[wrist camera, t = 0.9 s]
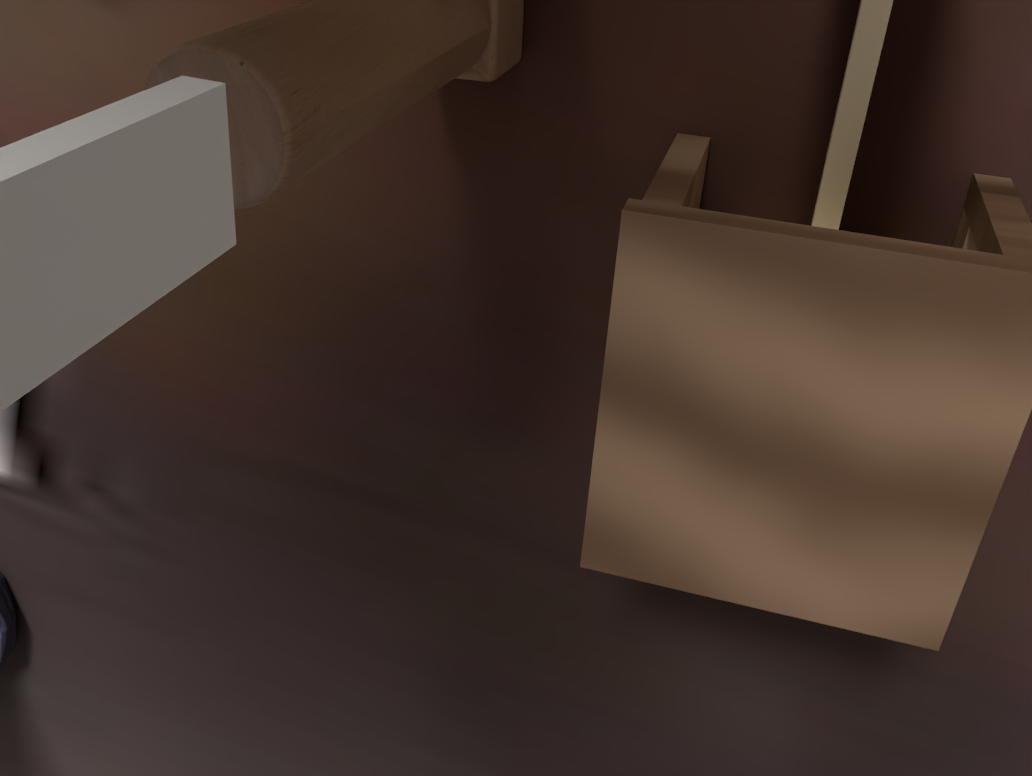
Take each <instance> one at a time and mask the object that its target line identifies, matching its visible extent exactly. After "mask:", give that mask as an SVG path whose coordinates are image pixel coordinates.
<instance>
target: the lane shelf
mask: <svg viewBox="0 0 1032 776" xmlns="http://www.w3.org/2000/svg"><path fill="white" fill-rule="evenodd" d="M710 139H711V138H710V137H703V136H696V135H688V134H681V133H678V134H677V135H676V137H675V139H674V141H673V143H672V145H671V147H670V148H669V150H668V152H667V154H666V156H665V158H664V160H663V162H662V163H661V165H660V167H659V169H658V171H657V173H656V175H655V176H654V178H653V180H652V182H651V184H650V186H649V188H648V190H647V191H646V193H645V195H644V197H643V199H642V200H638V199H631V198H628V200H627V202H626V204H625V205H624V207H623V209H622V214H621V223H620V231H619V240H618V248H617V257H616V265H615V274H614V282H613V291H612V299H611V308H610V316H609V325H608V333H607V342H606V350H605V359H604V367H603V376H602V384H601V393H600V401H599V410H598V418H597V427H596V435H595V444H594V452H593V461H592V469H591V478H590V486H589V495H588V503H587V512H586V520H585V529H584V537H583V546H582V554H581V563H580V567H583V568H587V569H591V570H595V571H600V572H604V573H608V574H612V575H617V576H621V577H625V578H630V579H634V580H638V581H642V582H647V583H651V584H655V585H659V586H664V587H668V588H672V589H676V590H681V591H685V592H689V593H693V594H698V595H702V596H706V597H710V598H715V599H719V600H723V601H727V602H732V603H736V604H740V605H745V606H749V607H753V608H757V609H762V610H766V611H770V612H774V613H779V614H783V615H787V616H791V617H796V618H800V619H804V620H808V621H813V622H817V623H821V624H825V625H830V626H834V627H838V628H843V629H847V630H851V631H855V632H860V633H864V634H868V635H872V636H877V637H881V638H885V639H889V640H894V641H898V642H902V643H906V644H911V645H915V646H919V647H923V648H928V649H932V650H936V651H939V648H940V646H941V643H942V641H943V638H944V635H945V633H946V630H947V628H948V625H949V622H950V620H951V617H952V615H953V612H954V609H955V607H956V604H957V602H958V599H959V596H960V594H961V591H962V589H963V586H964V583H965V581H966V578H967V576H968V573H969V570H970V568H971V565H972V563H973V560H974V557H975V555H976V552H977V550H978V547H979V544H980V542H981V539H982V537H983V534H984V531H985V529H986V526H987V524H988V521H989V518H990V516H991V513H992V511H993V508H994V505H995V503H996V500H997V498H998V495H999V492H1000V490H1001V487H1002V485H1003V482H1004V479H1005V477H1006V474H1007V472H1008V469H1009V466H1010V464H1011V461H1012V459H1013V456H1014V453H1015V451H1016V448H1017V446H1018V443H1019V440H1020V438H1021V435H1022V433H1023V430H1024V427H1025V425H1026V422H1027V420H1028V417H1029V414H1030V412H1031V409H1032V223H1031V221H1030V219H1029V216H1028V214H1027V212H1026V210H1025V208H1024V206H1023V203H1022V201H1021V199H1020V197H1019V195H1018V192H1017V190H1016V188H1015V186H1014V184H1013V182H1012V179H1011V178H1005V177H997V176H990V175H982V174H975V173H974V174H973V177H972V180H971V184H970V187H969V190H968V194H967V197H966V200H965V203H964V207H963V210H962V213H961V217H960V220H959V223H958V226H957V230H956V233H955V236H954V240H953V243H952V246H951V247H947V246H941V245H934V244H928V243H921V242H915V241H908V240H901V239H895V238H888V237H882V236H875V235H868V234H862V233H855V232H849V231H842V230H835V229H829V228H822V227H816V226H809V225H802V224H796V223H789V222H783V221H776V220H769V219H763V218H756V217H750V216H743V215H736V214H730V213H723V212H717V211H710V210H703V209H699V208H700V201H701V195H702V189H703V183H704V176H705V170H706V164H707V158H708V151H709V145H710Z"/></svg>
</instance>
